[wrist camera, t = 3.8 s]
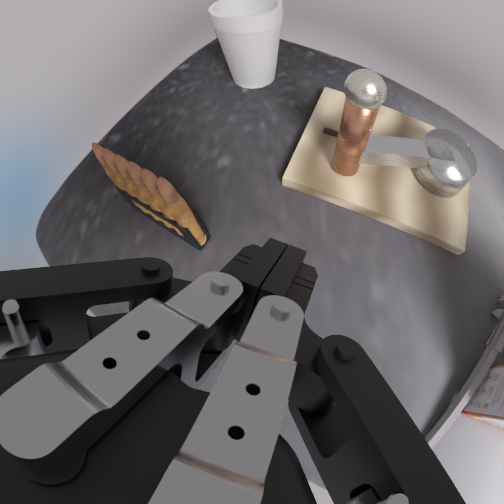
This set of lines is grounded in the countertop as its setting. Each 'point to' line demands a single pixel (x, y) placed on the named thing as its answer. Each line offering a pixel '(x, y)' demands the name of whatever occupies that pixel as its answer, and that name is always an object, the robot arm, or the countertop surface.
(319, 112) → the stand plate
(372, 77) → the lever
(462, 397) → the caliper
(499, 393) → the cracker box
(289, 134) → the countertop surface
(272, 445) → the robot arm
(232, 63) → the foam cup
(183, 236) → the ammunition clip
